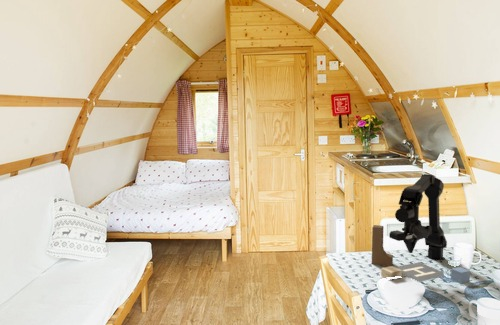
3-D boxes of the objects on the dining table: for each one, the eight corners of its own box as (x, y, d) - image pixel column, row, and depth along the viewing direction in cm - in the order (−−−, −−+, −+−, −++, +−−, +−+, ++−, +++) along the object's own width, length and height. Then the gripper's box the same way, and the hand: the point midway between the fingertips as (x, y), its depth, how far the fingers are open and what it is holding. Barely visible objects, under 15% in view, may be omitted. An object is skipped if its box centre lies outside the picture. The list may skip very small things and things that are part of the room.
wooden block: (392, 264, 206) (393, 226, 204) (391, 267, 201) (392, 229, 199) (373, 261, 209) (373, 224, 207) (371, 264, 205) (372, 227, 203)
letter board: (419, 262, 206) (419, 262, 206) (450, 275, 190) (450, 275, 190) (389, 268, 200) (389, 267, 199) (418, 282, 183) (418, 281, 183)
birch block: (391, 274, 193) (392, 265, 192) (401, 279, 187) (402, 270, 187) (381, 277, 190) (381, 268, 190) (390, 281, 185) (391, 272, 184)
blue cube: (459, 278, 187) (460, 267, 187) (469, 282, 183) (470, 270, 182) (450, 280, 185) (451, 268, 185) (460, 284, 181) (461, 272, 180)
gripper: (407, 224, 176) (406, 261, 178) (442, 219, 183) (441, 255, 184) (388, 218, 186) (388, 253, 188) (423, 213, 193) (422, 247, 195)
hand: (410, 252), depth 188 cm, fingers closed
